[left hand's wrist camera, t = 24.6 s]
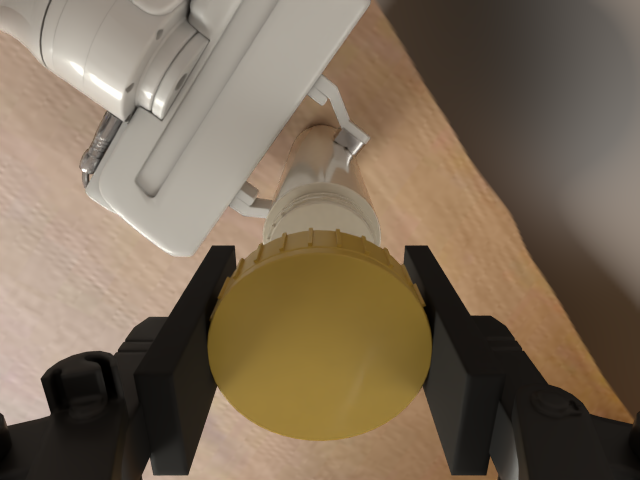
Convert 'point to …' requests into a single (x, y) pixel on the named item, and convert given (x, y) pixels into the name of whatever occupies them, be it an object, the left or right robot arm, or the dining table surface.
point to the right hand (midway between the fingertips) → (333, 184)
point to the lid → (319, 336)
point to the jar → (321, 191)
